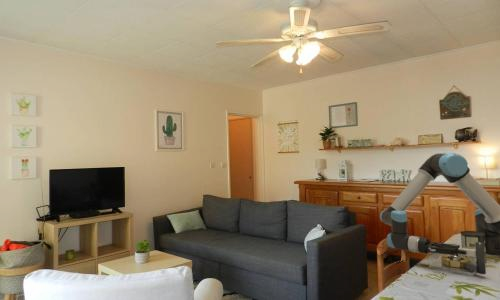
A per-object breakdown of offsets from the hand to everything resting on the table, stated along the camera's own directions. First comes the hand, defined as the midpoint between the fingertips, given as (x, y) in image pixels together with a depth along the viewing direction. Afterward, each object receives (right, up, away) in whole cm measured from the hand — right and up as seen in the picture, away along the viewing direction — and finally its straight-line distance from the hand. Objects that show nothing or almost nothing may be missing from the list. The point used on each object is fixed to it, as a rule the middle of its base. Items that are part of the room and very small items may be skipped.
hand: (475, 253), depth 149 cm
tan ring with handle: (-1, -8, +7) cm, 11 cm away
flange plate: (-1, -10, +11) cm, 15 cm away
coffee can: (+13, -10, +20) cm, 26 cm away
